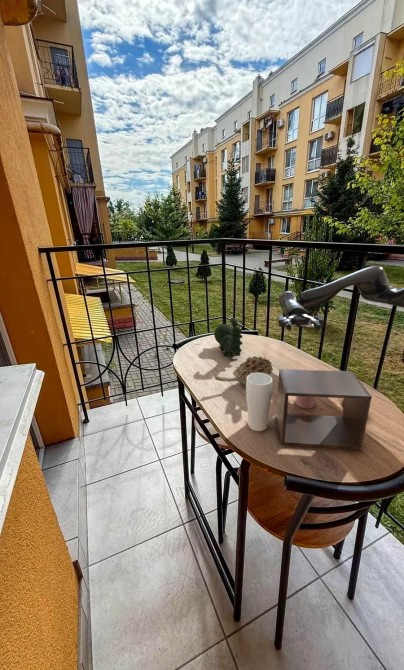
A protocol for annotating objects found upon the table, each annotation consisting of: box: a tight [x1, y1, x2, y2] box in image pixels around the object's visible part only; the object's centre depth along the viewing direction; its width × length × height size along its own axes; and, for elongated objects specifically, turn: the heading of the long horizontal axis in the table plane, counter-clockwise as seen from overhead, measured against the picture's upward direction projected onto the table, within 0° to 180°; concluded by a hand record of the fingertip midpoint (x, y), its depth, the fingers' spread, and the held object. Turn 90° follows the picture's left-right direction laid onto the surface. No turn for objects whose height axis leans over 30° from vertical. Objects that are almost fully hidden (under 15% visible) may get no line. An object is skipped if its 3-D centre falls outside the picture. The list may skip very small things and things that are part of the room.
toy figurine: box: [213, 317, 244, 358], centre depth 124 cm, size 9×19×25 cm
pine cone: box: [213, 355, 273, 386], centre depth 97 cm, size 22×10×10 cm, turn 113°
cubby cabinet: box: [275, 368, 373, 452], centre depth 72 cm, size 19×12×15 cm, turn 82°
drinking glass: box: [245, 373, 273, 432], centre depth 75 cm, size 7×7×15 cm
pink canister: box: [295, 396, 316, 409], centre depth 85 cm, size 5×5×10 cm
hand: (304, 327), depth 90 cm, fingers open, 8 cm apart
